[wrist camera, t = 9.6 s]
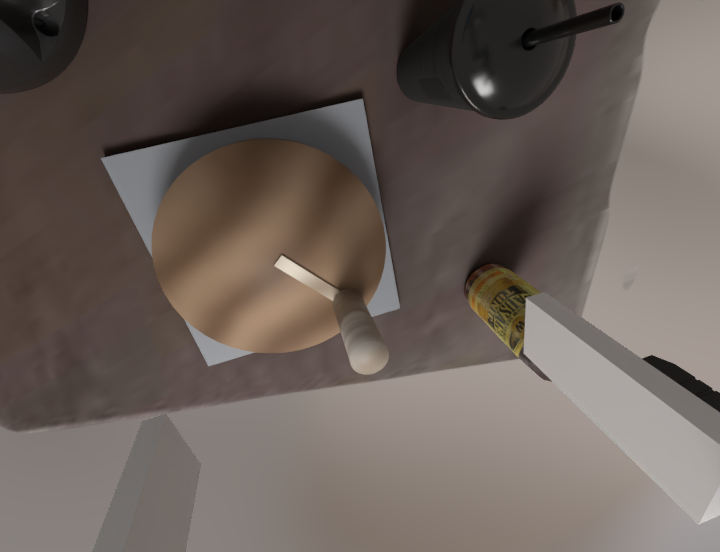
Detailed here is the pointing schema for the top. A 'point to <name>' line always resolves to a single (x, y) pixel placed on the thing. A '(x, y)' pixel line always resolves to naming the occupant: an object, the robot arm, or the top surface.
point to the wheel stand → (313, 128)
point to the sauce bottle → (502, 306)
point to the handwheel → (273, 250)
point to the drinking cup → (496, 54)
